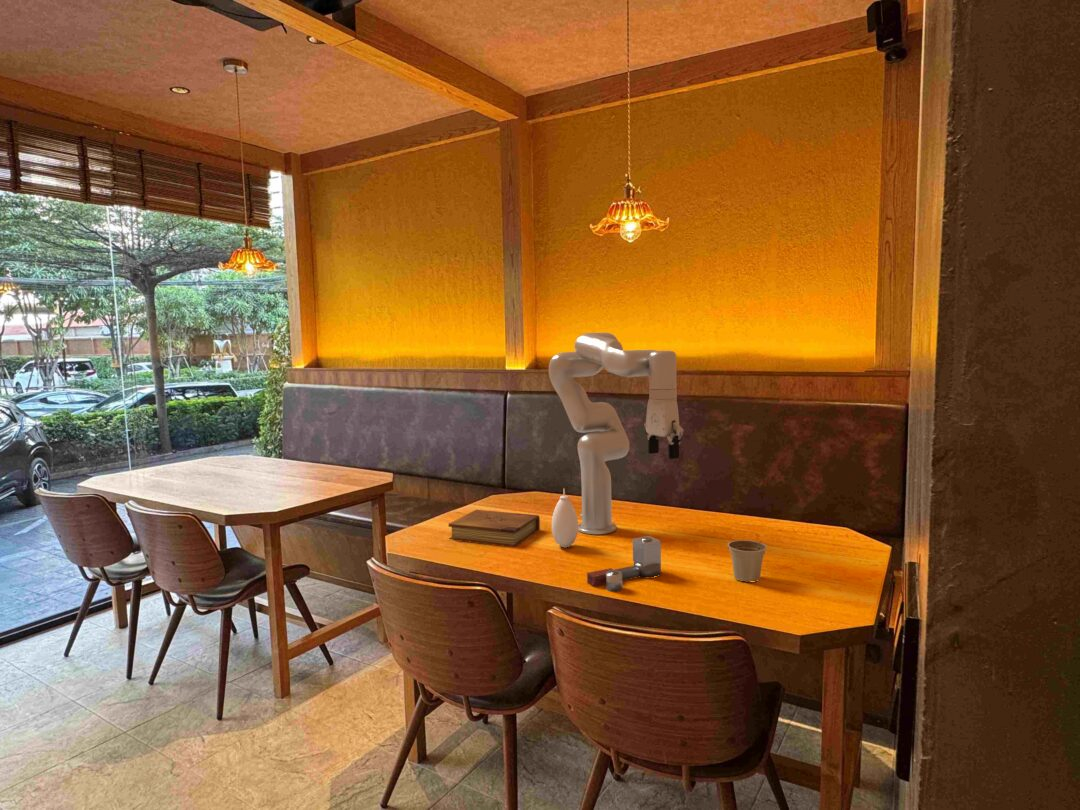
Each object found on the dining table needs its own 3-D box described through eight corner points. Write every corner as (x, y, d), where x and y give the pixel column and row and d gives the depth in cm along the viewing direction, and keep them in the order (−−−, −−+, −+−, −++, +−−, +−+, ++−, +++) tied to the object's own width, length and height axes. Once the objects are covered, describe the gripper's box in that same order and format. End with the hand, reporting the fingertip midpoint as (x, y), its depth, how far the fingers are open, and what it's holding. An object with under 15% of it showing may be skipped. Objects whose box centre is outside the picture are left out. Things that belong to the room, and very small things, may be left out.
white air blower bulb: (576, 551, 190) (575, 490, 188) (550, 550, 192) (548, 490, 190) (580, 543, 198) (579, 484, 196) (554, 542, 199) (553, 484, 198)
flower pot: (736, 569, 172) (736, 537, 172) (772, 577, 167) (772, 544, 166) (721, 580, 165) (721, 546, 164) (758, 588, 159) (758, 554, 158)
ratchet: (583, 580, 168) (583, 556, 167) (650, 567, 176) (650, 544, 175) (597, 589, 161) (596, 565, 161) (666, 575, 170) (666, 552, 169)
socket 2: (633, 560, 172) (632, 537, 172) (649, 557, 175) (649, 534, 174) (643, 566, 168) (643, 542, 167) (660, 563, 170) (660, 539, 169)
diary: (539, 531, 213) (539, 514, 212) (515, 549, 196) (514, 530, 195) (477, 525, 222) (477, 508, 222) (449, 540, 205) (448, 523, 205)
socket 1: (603, 587, 162) (602, 571, 162) (617, 584, 164) (616, 568, 164) (611, 593, 159) (611, 576, 158) (625, 590, 160) (625, 573, 160)
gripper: (634, 393, 188) (635, 452, 190) (670, 398, 173) (670, 462, 174) (656, 392, 191) (656, 450, 193) (693, 396, 176) (693, 459, 177)
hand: (663, 455), depth 184 cm, fingers open, 9 cm apart
